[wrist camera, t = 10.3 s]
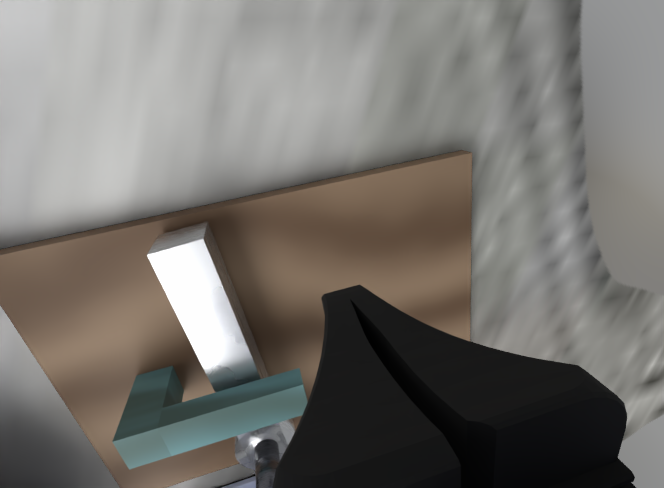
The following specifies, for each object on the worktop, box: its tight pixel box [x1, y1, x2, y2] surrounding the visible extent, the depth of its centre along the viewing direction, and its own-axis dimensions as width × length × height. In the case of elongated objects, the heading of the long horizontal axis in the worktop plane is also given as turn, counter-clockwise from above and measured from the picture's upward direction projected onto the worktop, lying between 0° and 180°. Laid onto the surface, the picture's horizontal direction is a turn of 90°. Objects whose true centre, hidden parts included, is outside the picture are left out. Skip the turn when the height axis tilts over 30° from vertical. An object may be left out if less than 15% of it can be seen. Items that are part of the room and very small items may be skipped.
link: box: [147, 221, 295, 488], centre depth 18 cm, size 15×4×5 cm, turn 12°
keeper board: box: [0, 150, 472, 488], centre depth 20 cm, size 18×25×5 cm
